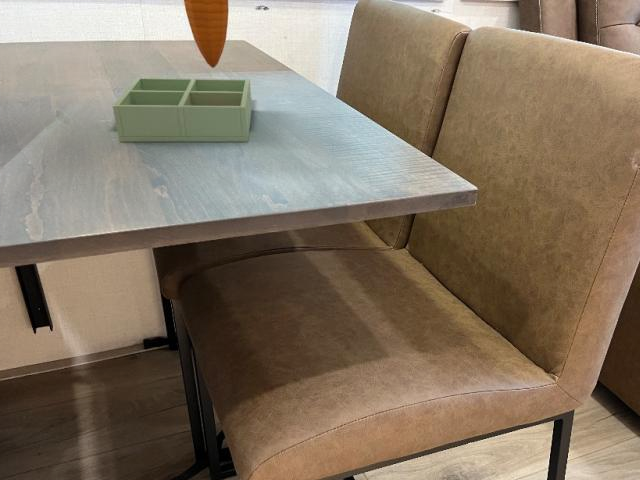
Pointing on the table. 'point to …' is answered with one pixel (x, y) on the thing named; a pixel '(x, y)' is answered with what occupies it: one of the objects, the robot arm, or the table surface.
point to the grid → (184, 110)
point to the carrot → (208, 26)
